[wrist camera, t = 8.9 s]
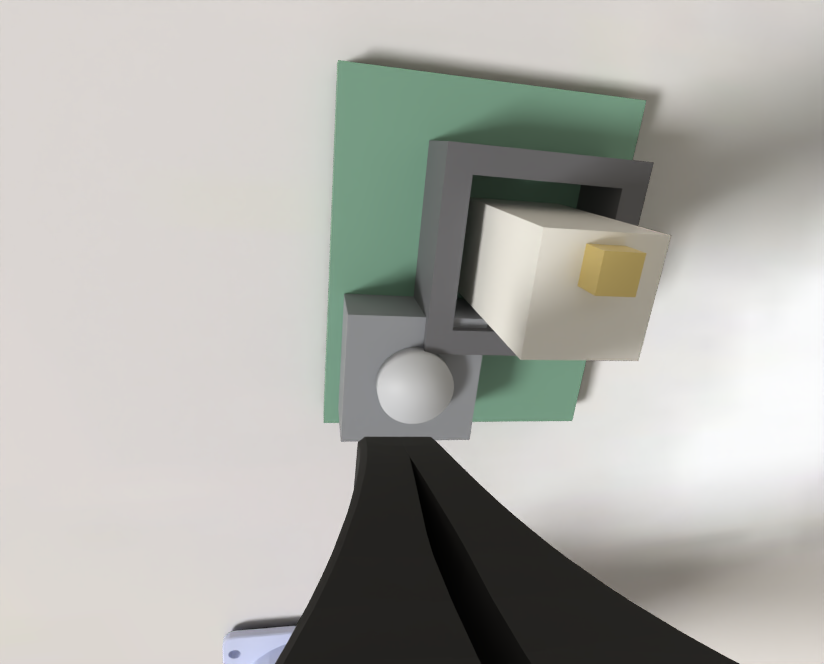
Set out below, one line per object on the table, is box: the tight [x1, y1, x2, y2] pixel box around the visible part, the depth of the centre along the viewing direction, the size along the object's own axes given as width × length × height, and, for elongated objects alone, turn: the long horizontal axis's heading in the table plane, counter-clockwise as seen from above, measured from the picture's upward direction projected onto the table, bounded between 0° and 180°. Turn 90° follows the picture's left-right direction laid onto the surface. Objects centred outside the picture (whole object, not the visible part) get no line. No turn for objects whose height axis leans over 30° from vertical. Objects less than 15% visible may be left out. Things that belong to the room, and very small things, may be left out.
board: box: [324, 60, 654, 442], centre depth 17 cm, size 12×10×4 cm
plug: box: [458, 197, 671, 361], centre depth 14 cm, size 3×3×7 cm
